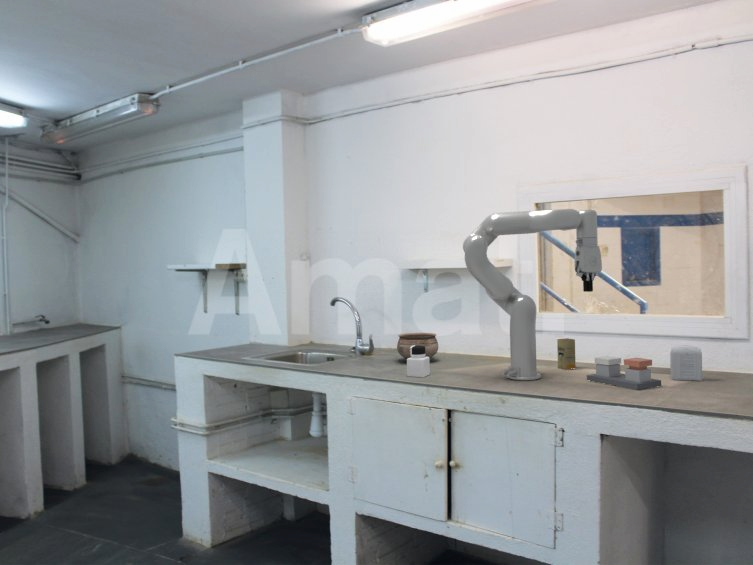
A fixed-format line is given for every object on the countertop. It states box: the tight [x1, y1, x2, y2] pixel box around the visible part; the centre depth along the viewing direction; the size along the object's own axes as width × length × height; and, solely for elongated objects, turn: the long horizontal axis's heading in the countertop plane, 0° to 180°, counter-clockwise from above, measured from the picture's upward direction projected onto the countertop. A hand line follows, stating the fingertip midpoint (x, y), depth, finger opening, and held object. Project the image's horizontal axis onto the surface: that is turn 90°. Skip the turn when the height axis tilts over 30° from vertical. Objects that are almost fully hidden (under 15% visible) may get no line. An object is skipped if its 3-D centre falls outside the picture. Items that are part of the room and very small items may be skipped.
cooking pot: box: [396, 332, 439, 360], centre depth 285 cm, size 25×19×12 cm
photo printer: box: [669, 345, 703, 382], centre depth 223 cm, size 10×4×12 cm, turn 72°
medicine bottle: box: [406, 345, 431, 378], centre depth 249 cm, size 7×7×12 cm
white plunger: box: [594, 355, 622, 365], centre depth 227 cm, size 6×6×6 cm
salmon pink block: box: [623, 357, 653, 370], centre depth 215 cm, size 6×6×6 cm
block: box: [586, 363, 662, 391], centre depth 221 cm, size 12×22×6 cm, turn 28°
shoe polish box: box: [556, 337, 577, 370], centre depth 254 cm, size 5×5×12 cm
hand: (588, 291), depth 236 cm, fingers closed
